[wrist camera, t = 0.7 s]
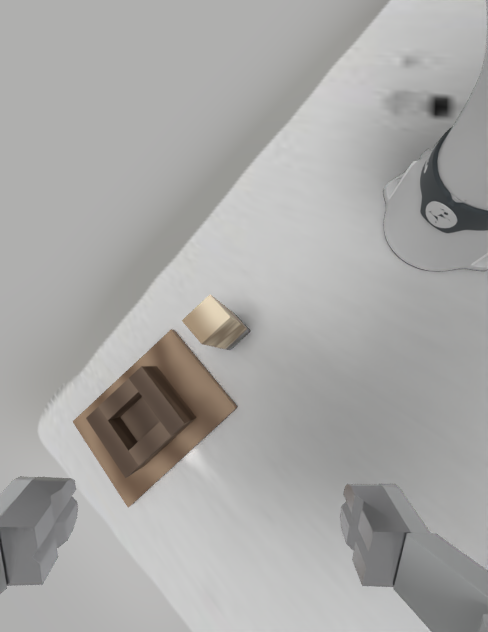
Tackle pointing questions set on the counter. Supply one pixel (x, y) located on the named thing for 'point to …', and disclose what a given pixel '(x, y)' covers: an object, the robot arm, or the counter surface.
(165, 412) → the square hole base plate
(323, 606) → the counter surface
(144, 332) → the counter surface
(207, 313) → the upright wooden square peg
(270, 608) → the counter surface
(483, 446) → the counter surface
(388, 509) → the robot arm
